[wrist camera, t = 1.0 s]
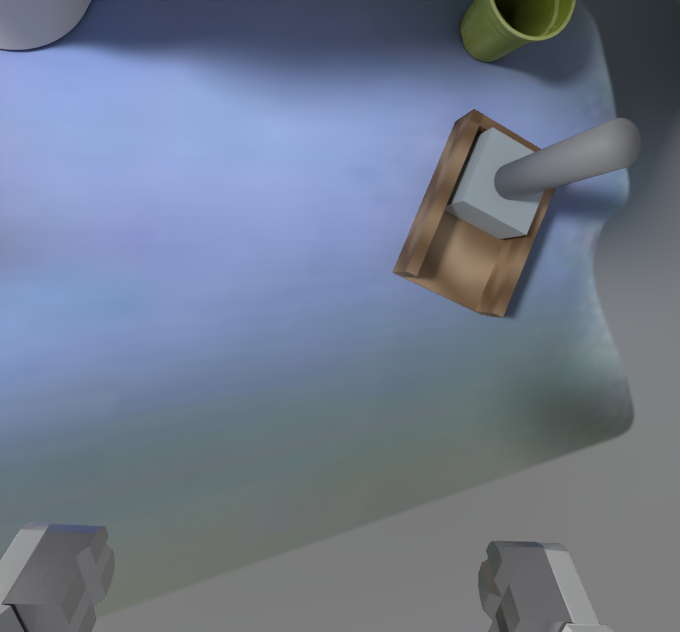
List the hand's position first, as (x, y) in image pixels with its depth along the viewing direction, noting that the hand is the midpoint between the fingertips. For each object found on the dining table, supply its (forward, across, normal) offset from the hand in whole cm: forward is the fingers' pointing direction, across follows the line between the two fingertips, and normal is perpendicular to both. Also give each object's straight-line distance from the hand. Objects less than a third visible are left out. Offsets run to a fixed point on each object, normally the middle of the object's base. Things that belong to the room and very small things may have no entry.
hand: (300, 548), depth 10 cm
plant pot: (+56, -16, -9) cm, 59 cm away
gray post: (+47, -17, +5) cm, 51 cm away
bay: (+46, -16, +8) cm, 49 cm away
